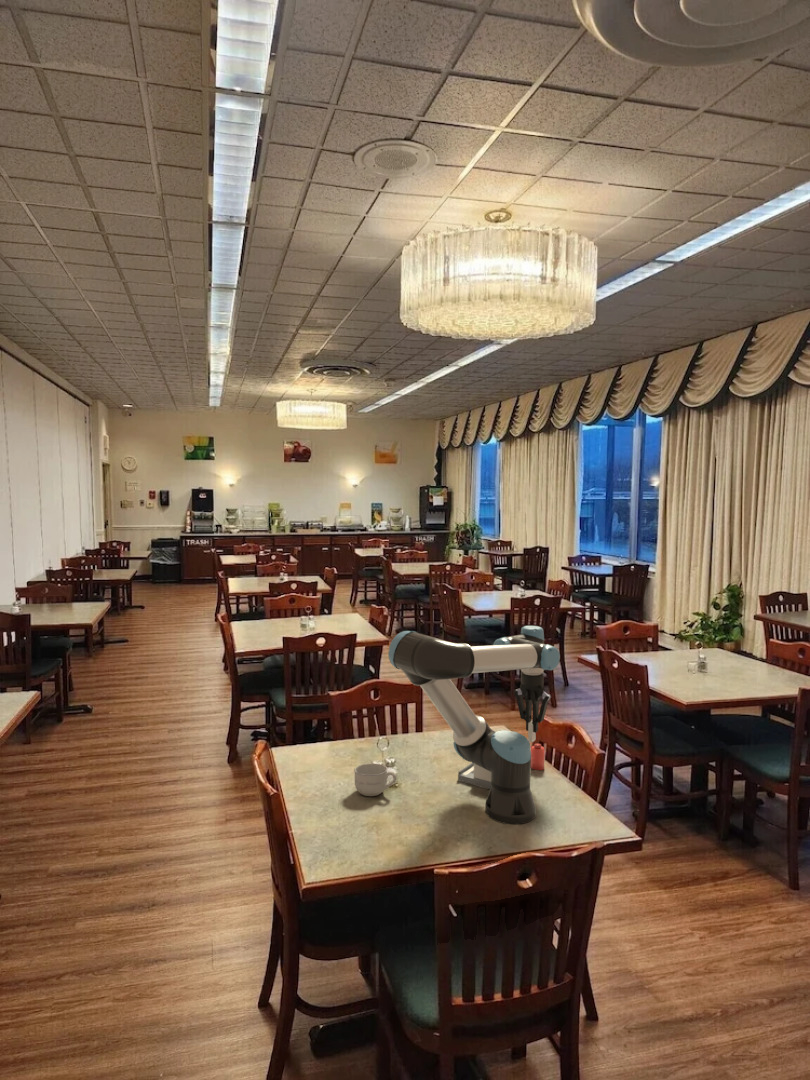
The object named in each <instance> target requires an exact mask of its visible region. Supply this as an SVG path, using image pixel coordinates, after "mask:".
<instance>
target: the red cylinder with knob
mask: <svg viewBox="0 0 810 1080" xmlns="http://www.w3.org/2000/svg"><path fill="white" fill-rule="evenodd" d="M530 751H531V770H534V771H542V770H544V769H545V747H544V746H542V744H541V743H534V745H532V746H530Z"/></svg>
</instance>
